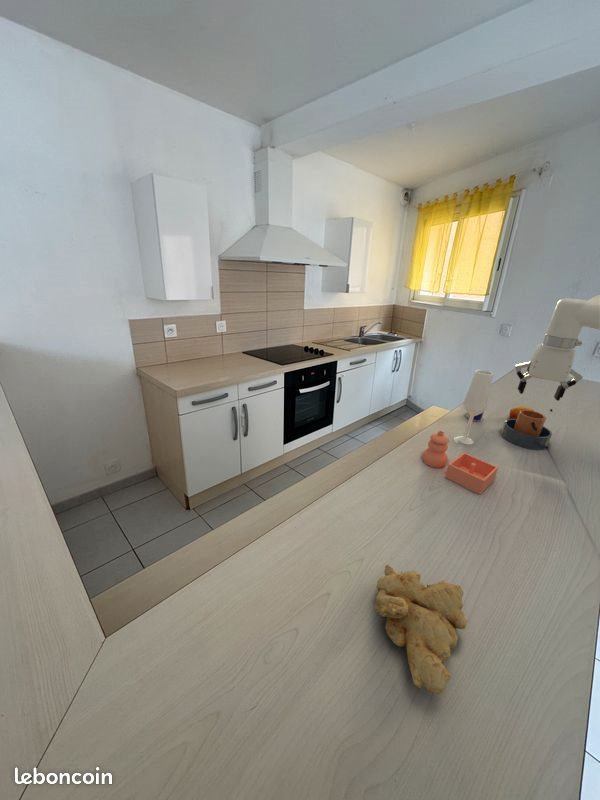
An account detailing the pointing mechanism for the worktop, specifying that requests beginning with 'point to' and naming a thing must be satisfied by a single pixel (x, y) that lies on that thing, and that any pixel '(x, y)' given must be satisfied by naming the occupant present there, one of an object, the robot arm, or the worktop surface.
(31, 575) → the worktop surface
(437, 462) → the pottery
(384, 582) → the ginger root
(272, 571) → the worktop surface
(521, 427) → the cup
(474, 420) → the energy drink
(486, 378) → the champagne flute
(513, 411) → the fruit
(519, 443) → the shallow round gray bowl
